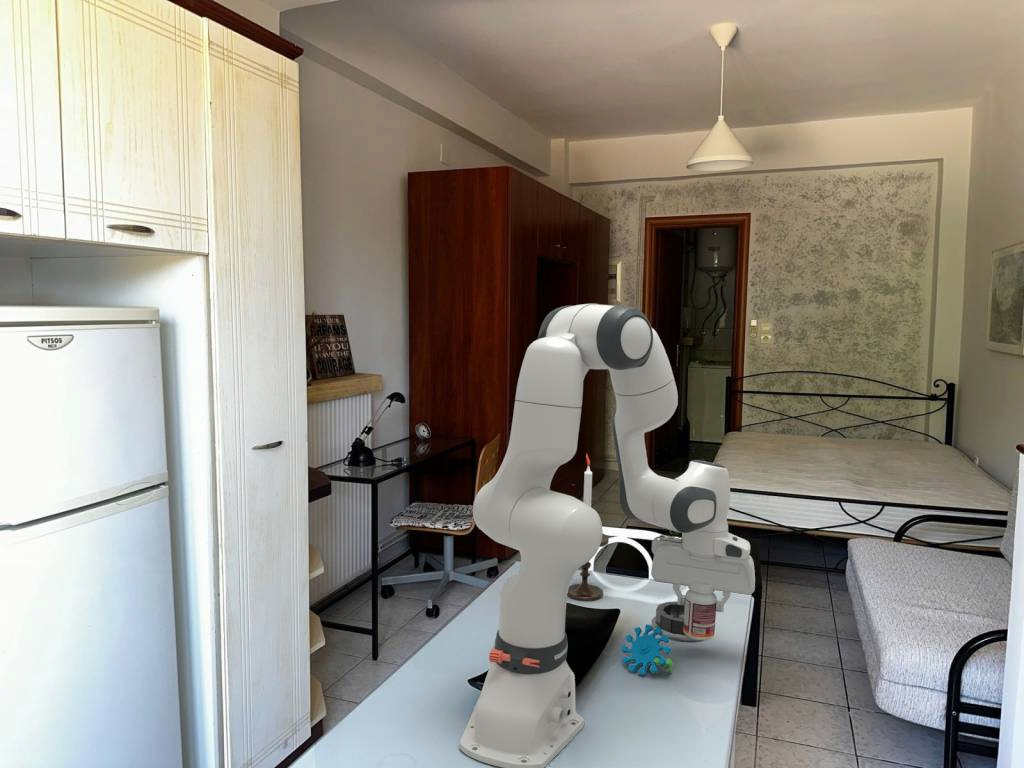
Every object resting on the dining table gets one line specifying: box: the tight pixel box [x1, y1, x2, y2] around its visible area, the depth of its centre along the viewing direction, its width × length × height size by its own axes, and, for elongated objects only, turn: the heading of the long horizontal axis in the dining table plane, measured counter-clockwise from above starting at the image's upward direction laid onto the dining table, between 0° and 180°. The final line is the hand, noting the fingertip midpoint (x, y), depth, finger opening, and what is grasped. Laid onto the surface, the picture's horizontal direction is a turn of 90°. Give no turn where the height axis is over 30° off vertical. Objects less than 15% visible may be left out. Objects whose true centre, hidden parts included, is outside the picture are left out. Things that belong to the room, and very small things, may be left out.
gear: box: [620, 623, 674, 677], centre depth 139 cm, size 11×6×10 cm
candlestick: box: [567, 452, 610, 602], centre depth 175 cm, size 11×11×35 cm
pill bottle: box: [683, 582, 717, 641], centre depth 145 cm, size 6×6×11 cm
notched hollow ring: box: [650, 601, 704, 643], centre depth 157 cm, size 13×13×4 cm
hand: (700, 607), depth 145 cm, fingers closed on pill bottle, 6 cm apart
